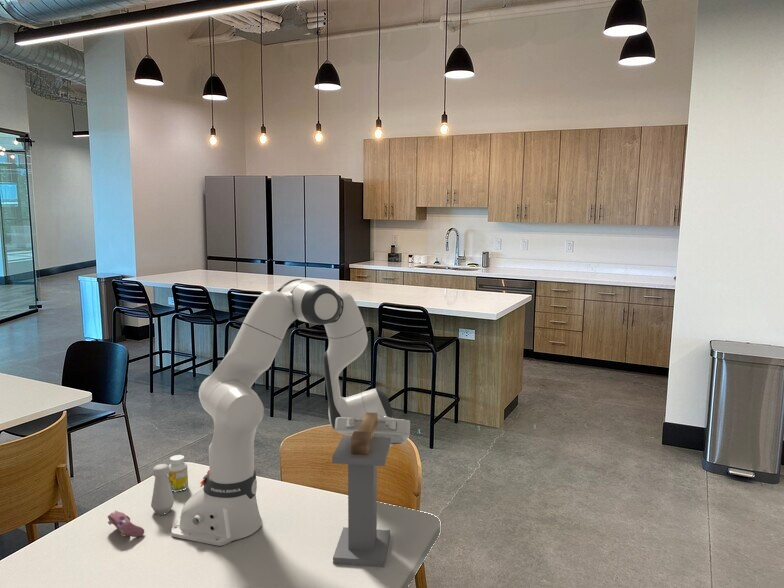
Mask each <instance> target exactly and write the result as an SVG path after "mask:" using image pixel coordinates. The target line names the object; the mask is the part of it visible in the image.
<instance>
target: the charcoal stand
mask: <svg viewBox="0 0 784 588" xmlns="http://www.w3.org/2000/svg"><path fill="white" fill-rule="evenodd" d="M351 437H352V435H346V434H343V435H342V436H341V439H340V441H339V442H338V445H337V446H336V448H335V450H334V452H333V455H332V457H331V459H332V460H331V462H332V464H338V465H347V501H348V503H347V506H348V507H347V508H348V509H347V511H348V512H347V514H348V515H347V518H348V519H347V523H348V524H347V527H346V526H345V527H344V526H343V527H342V531H341V534H340V536H339V539H338V542H337V544H336V545H337V546H336V547H335V551H334V553H333V557H332V563H333V564H335V565H337V564H338V565H351V566H353V565H354V566H365V567H366V566H367V567H380V568H381V567H383V568H384V567H385V564H386V559H387V555H388V549H389V543H390V539H391V530H390V529H377V528H378V526H377V524H378V519H377V516H378V514H377V513H378V512H377V511H378V508H377V507H378V503H377V501H378V497H377V496H378V493H377V492H378V486H377V485H378V467H385V466H386V463H387V459H388V455H389V451H390V448H391V447H390V444H391V438H388V437H373V438H372V440H371V449H370V452H369V455H355V454H351Z"/></svg>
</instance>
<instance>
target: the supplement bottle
mask: <svg viewBox="0 0 784 588" xmlns="http://www.w3.org/2000/svg"><path fill="white" fill-rule="evenodd" d="M169 463H170V464H169V465H168V466H169V468H170V471H169V474H168V478H169V482H170V486H171V490H173V491H180V490H183V489H185V488H187V487H189V474H188V473H189V471H188V464H187V462H186V461H185V456H184V455H182V454H175V455H172V456H170V457H169ZM187 489H188V488H187Z"/></svg>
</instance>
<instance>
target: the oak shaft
mask: <svg viewBox="0 0 784 588" xmlns="http://www.w3.org/2000/svg"><path fill="white" fill-rule="evenodd" d="M376 426H377V413H368V412H366V414H365V416H364V419H363V421H362V423H361V425H360V428H359V430H358V431H354V432H353V435H351V436H352V437H351V454H355V455H369V452H370V449H371V440H372V438H373V435H374V432H375V429H376Z"/></svg>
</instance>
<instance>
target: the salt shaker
mask: <svg viewBox="0 0 784 588" xmlns="http://www.w3.org/2000/svg"><path fill="white" fill-rule="evenodd" d="M169 471H170V468H169V465H168V463H167V464H166V463H159V464H156V465H155V466H153V467H152V475H153V476H154V483H153V490H152V496H151V503H150V507H151V508H152V510H153V511H154V513H155V515H158V514H163V515H165V514H164V513H167V514H169V513H170V512H171V510H172V509H171V508H173V506H174V503H175V499H174V495H173V492H172V490H171V486H170V482H169V478H168V474H169ZM169 511H170V512H169ZM168 512H169V513H168Z"/></svg>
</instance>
